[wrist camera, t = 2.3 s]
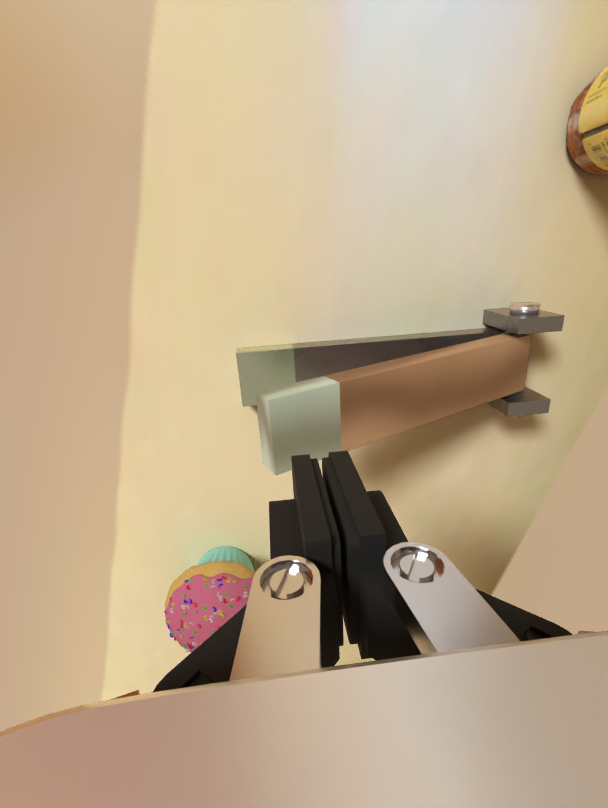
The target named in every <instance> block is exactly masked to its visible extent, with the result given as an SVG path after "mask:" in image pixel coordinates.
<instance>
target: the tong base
mask: <svg viewBox="0 0 608 808" xmlns="http://www.w3.org/2000/svg"><path fill="white" fill-rule="evenodd" d="M563 321H564V315H560V314H556V313H551V312H546V311H541V310H540V303H533V302H518V303H511V304H510V308H500V309H487V310H484V317H483V323H484V324H487V325H490V326H493V327H495V328H482V329H470V330H458V331H445V332H433V333H421V334H408V335H396V336H384V337H371V338H359V339H347V340H334V341H322V342H310V343H297V344H285V345H272V346H260V347H248V348H237V352H236V356H237V364H238V372H239V380H240V388H241V396H242V404H243V406H254V405H257V404H256V395H255V392H257V391H262V390H266V389H270V388H274V387H279V386H283V385H287V384H291V383H296V382H300V381H304V380H308V379H313V378H317V377H321V376H325V375H330V374H334V373H338V372H342V371H347V370H351V369H355V368H359V367H364V366H368V365H372V364H376V363H381V362H385V361H389V360H393V359H398V358H402V357H406V356H410V355H415V354H419V353H423V352H427V351H432V350H436V349H440V348H445V347H449V346H453V345H457V344H462V343H466V342H470V341H474V340H479V339H483V338H487V337H491V336H496V335H500V334H504V333H508V332H512V333H515V334H531V335H532V333H541V332H553V331H562V327H563ZM531 337H532V336H531ZM530 344H531V343H530ZM529 351H530V350H529ZM527 366H528V365H527ZM526 373H527V372H526ZM525 380H526V379H525ZM487 403H488V404H489V405H491V406H492V407H494V408H495V409H497V410H498V412H499V413H500V414H502V415H504V416H507V417H508V416H509V417H520V416H523V415H529V414H540V413H548V411H549V405H550V399H549V398H547V397H545V396H543V395H541V394H539V393H537V392H535V391H533V390H531V389H529V388H527V387H525V386H524V390H522V391H519V392H516V393H513V394H510V395H507V396H504V397H501V398H499V399H496V400H493V401H490V402H487Z"/></svg>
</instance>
